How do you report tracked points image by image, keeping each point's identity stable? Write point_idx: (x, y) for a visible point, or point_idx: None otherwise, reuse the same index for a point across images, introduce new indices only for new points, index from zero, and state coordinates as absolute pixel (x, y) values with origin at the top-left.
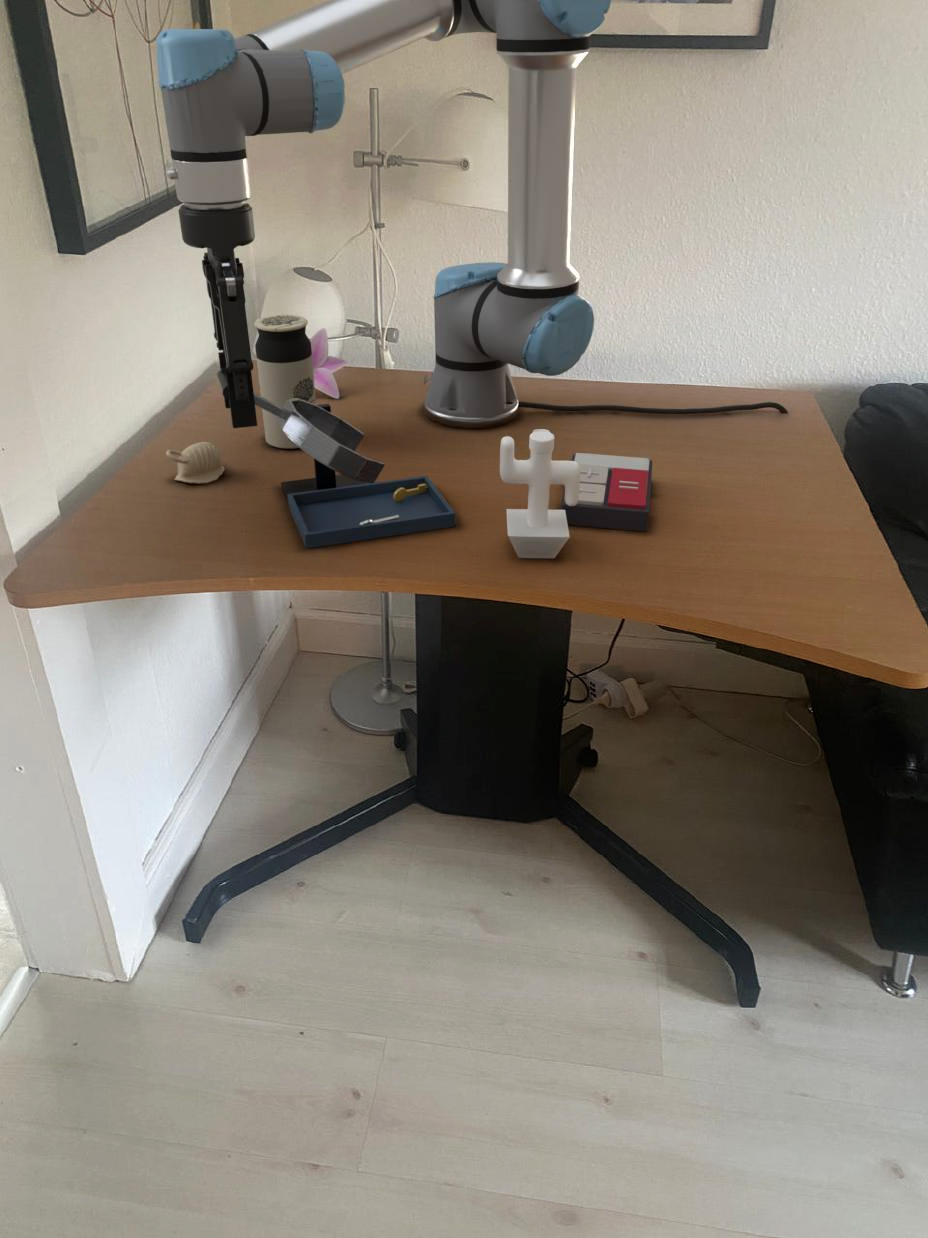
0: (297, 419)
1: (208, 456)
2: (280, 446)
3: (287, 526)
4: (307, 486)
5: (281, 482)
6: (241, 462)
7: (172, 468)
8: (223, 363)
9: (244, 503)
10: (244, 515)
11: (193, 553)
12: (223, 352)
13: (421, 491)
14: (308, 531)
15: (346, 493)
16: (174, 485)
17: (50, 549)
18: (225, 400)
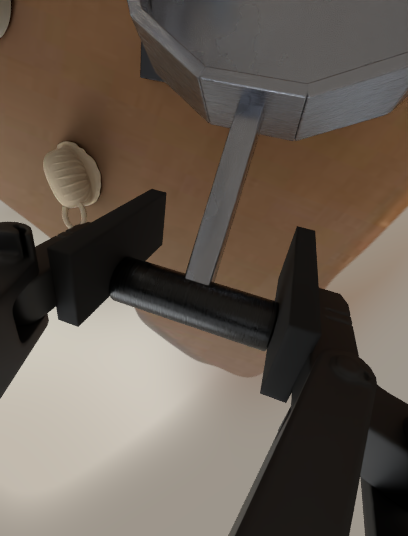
0: (341, 96)
1: (73, 173)
2: (7, 23)
3: None
4: None
5: (141, 77)
6: (47, 106)
7: (52, 196)
8: (99, 298)
9: (171, 150)
10: (206, 164)
11: (272, 254)
12: (60, 306)
13: None
14: None
15: None
16: (96, 209)
17: (193, 342)
18: (154, 251)
